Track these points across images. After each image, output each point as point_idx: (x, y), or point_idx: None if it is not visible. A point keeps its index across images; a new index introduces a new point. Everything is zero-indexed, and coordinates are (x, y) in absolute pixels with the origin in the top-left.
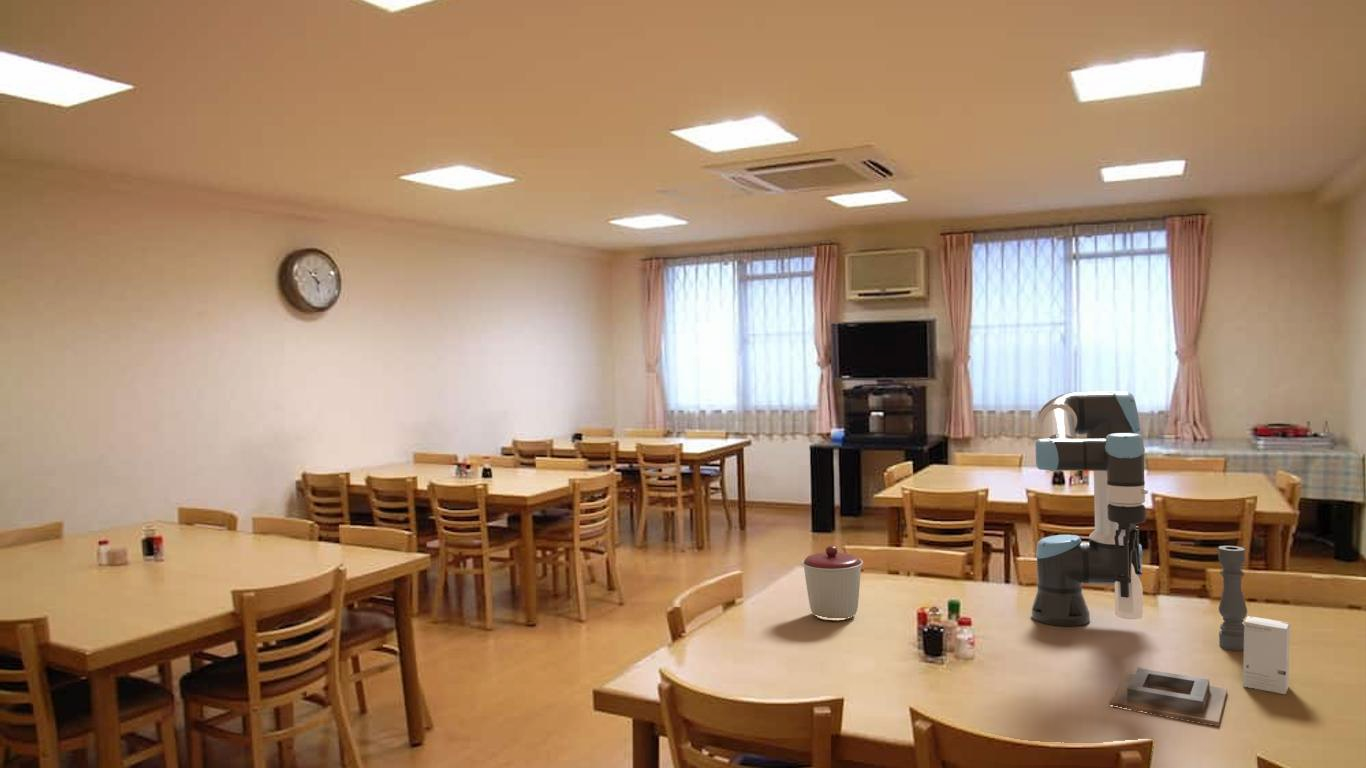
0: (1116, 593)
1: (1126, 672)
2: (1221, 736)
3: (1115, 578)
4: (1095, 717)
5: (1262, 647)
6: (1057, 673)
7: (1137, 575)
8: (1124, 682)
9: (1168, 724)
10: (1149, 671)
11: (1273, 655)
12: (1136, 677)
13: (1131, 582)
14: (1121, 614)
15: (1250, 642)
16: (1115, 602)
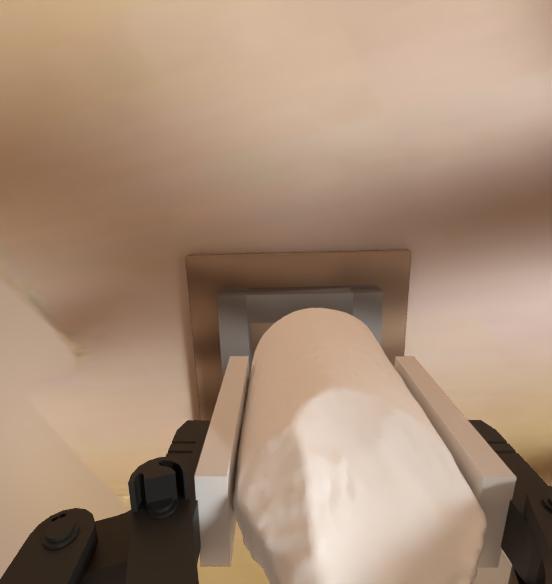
0: (274, 378)
1: (409, 252)
2: (164, 449)
3: (56, 520)
4: (108, 241)
5: (489, 579)
6: (350, 81)
7: (487, 562)
8: (333, 261)
9: (163, 370)
10: (368, 320)
11: (475, 580)
12: (307, 301)
13: (210, 563)
14: (255, 352)
15: (499, 567)
16: (286, 341)
